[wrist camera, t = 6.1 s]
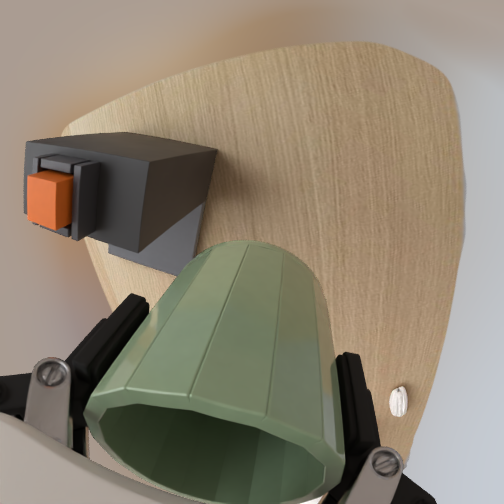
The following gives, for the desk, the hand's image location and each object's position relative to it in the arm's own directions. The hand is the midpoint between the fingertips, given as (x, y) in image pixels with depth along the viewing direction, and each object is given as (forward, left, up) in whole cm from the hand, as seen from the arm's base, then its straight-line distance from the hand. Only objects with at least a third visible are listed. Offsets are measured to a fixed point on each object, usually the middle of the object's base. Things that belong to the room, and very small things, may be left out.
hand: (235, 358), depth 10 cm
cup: (0, 0, -3) cm, 3 cm away
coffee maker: (+3, -14, -23) cm, 27 cm away
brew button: (-2, -14, -6) cm, 15 cm away
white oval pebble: (+24, +29, -24) cm, 45 cm away
